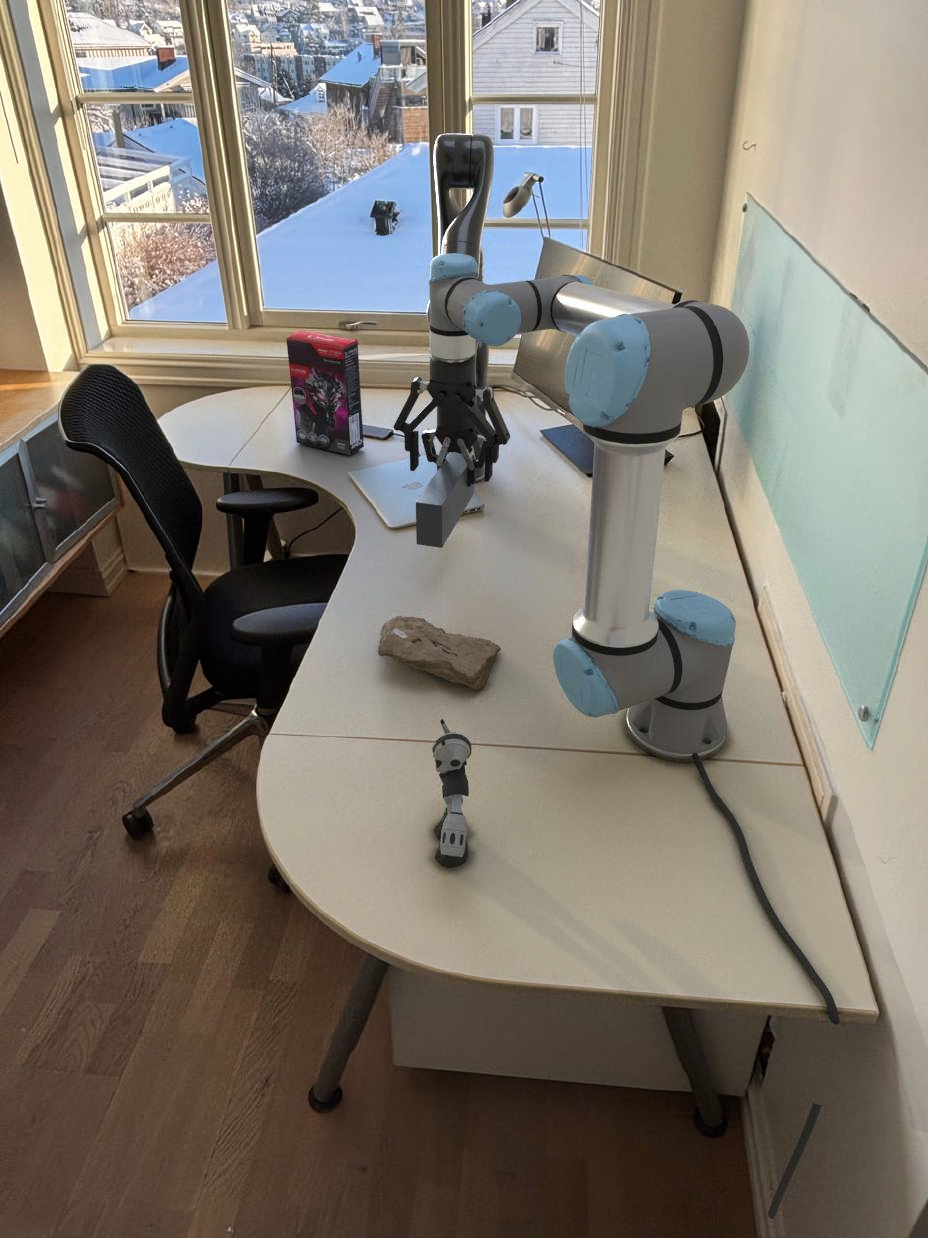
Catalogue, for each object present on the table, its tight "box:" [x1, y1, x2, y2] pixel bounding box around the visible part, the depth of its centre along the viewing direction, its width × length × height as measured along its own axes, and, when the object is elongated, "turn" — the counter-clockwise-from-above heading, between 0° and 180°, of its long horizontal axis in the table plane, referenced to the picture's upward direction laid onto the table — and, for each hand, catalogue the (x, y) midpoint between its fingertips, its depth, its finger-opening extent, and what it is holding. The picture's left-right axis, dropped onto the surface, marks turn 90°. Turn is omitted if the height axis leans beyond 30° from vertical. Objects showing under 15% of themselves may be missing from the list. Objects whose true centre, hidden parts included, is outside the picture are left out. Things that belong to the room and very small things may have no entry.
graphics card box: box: [285, 330, 365, 456], centre depth 225 cm, size 17×7×27 cm, turn 62°
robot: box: [431, 718, 473, 868], centre depth 118 cm, size 20×5×20 cm, turn 3°
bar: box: [415, 452, 475, 549], centre depth 177 cm, size 23×5×9 cm, turn 165°
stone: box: [377, 615, 502, 691], centre depth 155 cm, size 21×15×6 cm
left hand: (456, 482), depth 183 cm, fingers closed on bar, 5 cm apart
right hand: (451, 473), depth 163 cm, fingers open, 13 cm apart
